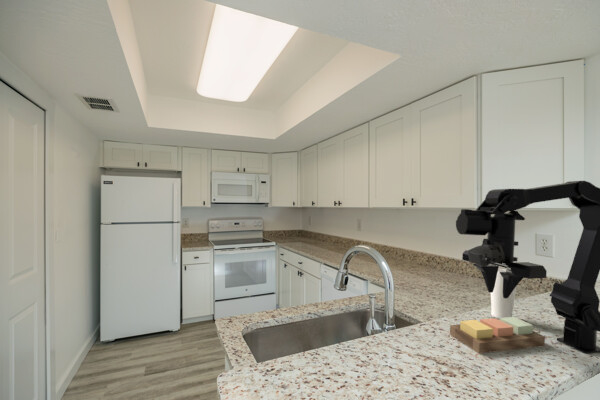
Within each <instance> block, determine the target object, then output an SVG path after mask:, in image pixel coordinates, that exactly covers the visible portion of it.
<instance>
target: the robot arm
mask: <svg viewBox="0 0 600 400" xmlns="http://www.w3.org/2000/svg"><path fill="white" fill-rule="evenodd" d="M561 199H562V200H563V199H569V201H570V203H571V205H572V206H573V207H576V208H577V209H579V214H578V218H579V220H580V222H581V224H582V228H583V229H582V231H581V232H582V233H581V235H580V238H579V242H578V245H577V247H576V249H575V250H576V251H575V254H574V257H573V260H572V263H571V266H570V270H569V273H568V276H567V278H566V279H565V280H564V281H562V282H561V283H560V282H554V284H552V291H551V293H550V294H549V297H550V303H551V304H552V306H553V308H554V310H555V313H556V315H558V316H560V317H563V318H564V321H563V322H564V323H563V324H564V325H563V336H562V337H556V341H558V342H560V343H562V344H565V345H567V346H569V347H571V348H573V349H574V350H575V349H576V351H577V350H578V351H580V352H582V353H584V354H594V353H600V346H597V340H598V339H597V338H598V337H597V336H598V332H600V310H599V307H600V298H599V296H598V294H597V291H596V287H595V286H596V283H597V281H598V280H597V279H598V277H599V275H600V187H597V186H595V185H594V184H593V183H592V182H589V181H586V180H570V181H567V182H564V183H557V184H550V185H544V186H537V187H530V188H501V189H500V188H499V189H495V188H494V189H491V190H488V192H487V194H486V195H485V198H484V199H483V201H482V202H481V203H480V204H479V206H478V207H477V208H476V209H475V210H474V209H473V210H472V209H467V208H462V209H460V213H459V215H458V216H457V218H456V220H455V228H456V231H457V233H458V234H459V235H464V236H465V235H468V236H486V235H487V238H483V239H482V244H481V245H477V246H474V247H472V248H471V249H468V250H466V249H465V251H463V252H462V258H461V259H462V261H465V262H469V263H470V264H472V265H473V266H474V267H475V268H477V269H478V270H479V271H480V273H481V274H482V277H483V280H484V283H485V287H486V290H487V292H488V293H490V292H493V290H494V287H495V282H496V277H497V272H498V268H499V267H501V268H503V269H506V272H500V274H501V276H502V277H503V298H508V297H509V296H510V294H511V293H512V291H513V290H514V289H515V287H516V288H517V286H518V285H519V283H520V282H521V281H523V279H530V280H531V279H533V280H534V279H547V269H546V268H545V266H544V265H542V264H537V263H533V262H530V261H527V262H526V261H525V262H524V261H522V262H521V261H518V259H519V258H518V257H517V256H514V255H515V247H516V246H518V247H519V241H516V240H515V235H516V234H515V233H516V221H525V220H526V218H525V217H524V216H523V215H521V214H520V212H519V211H517V210H520V209H521V210H522V209H523V208H526V207H527V206H529V205H532V204H535V203H536V204H537V203H541V202H548V201H550V202H551V201H555V200H561ZM492 215H493V216H492Z"/></svg>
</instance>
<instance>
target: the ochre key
mask: <svg viewBox="0 0 600 400" xmlns="http://www.w3.org/2000/svg"><path fill="white" fill-rule="evenodd" d="M460 329H461V330H462V331H464V332H466V333H467V334H469V335H471V336H472V337H474V338H475V339H483V338H493V329H492V328H490V327H489V326H487V325H485V324H483V323H481V322H480V321H479V320H477V319H471V320H470V319H469V320H460Z"/></svg>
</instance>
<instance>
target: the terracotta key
mask: <svg viewBox="0 0 600 400" xmlns="http://www.w3.org/2000/svg"><path fill="white" fill-rule="evenodd" d="M479 322H481V323H483V324H485V325H487V326H489V327H490V328H492V329H493V335H495V336H497V337H503V336H513V327H512V326H510V325H508V324H506V323H504V322H502V321H500V319H497V318H495V317H493V318H483V319H480V321H479Z"/></svg>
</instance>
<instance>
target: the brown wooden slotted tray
mask: <svg viewBox="0 0 600 400" xmlns="http://www.w3.org/2000/svg"><path fill="white" fill-rule="evenodd" d="M449 335H450V336H452V337H453V338H455V339H457V340H458V341H459V342H461V344H464V345H466V346H467V347H468V348H470V349H471V350H472V351H474V352H476V353H477V354H486V353H494V352H495V353H496V352H504V351H512V350H521V349H531V347H532V348H537V347H544V346H545V341H546V336H545V335H543V334H541V333H538V332H536V331H535V330H533V334H523V335H517V334H515V333H513V336H503V337H497V336H495V335H493V338H483V339H475V338H474V337H472V336H471V335H469V334H467V333H466V332H464V331H462V330H461V329H460V324H451V325H449Z"/></svg>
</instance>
